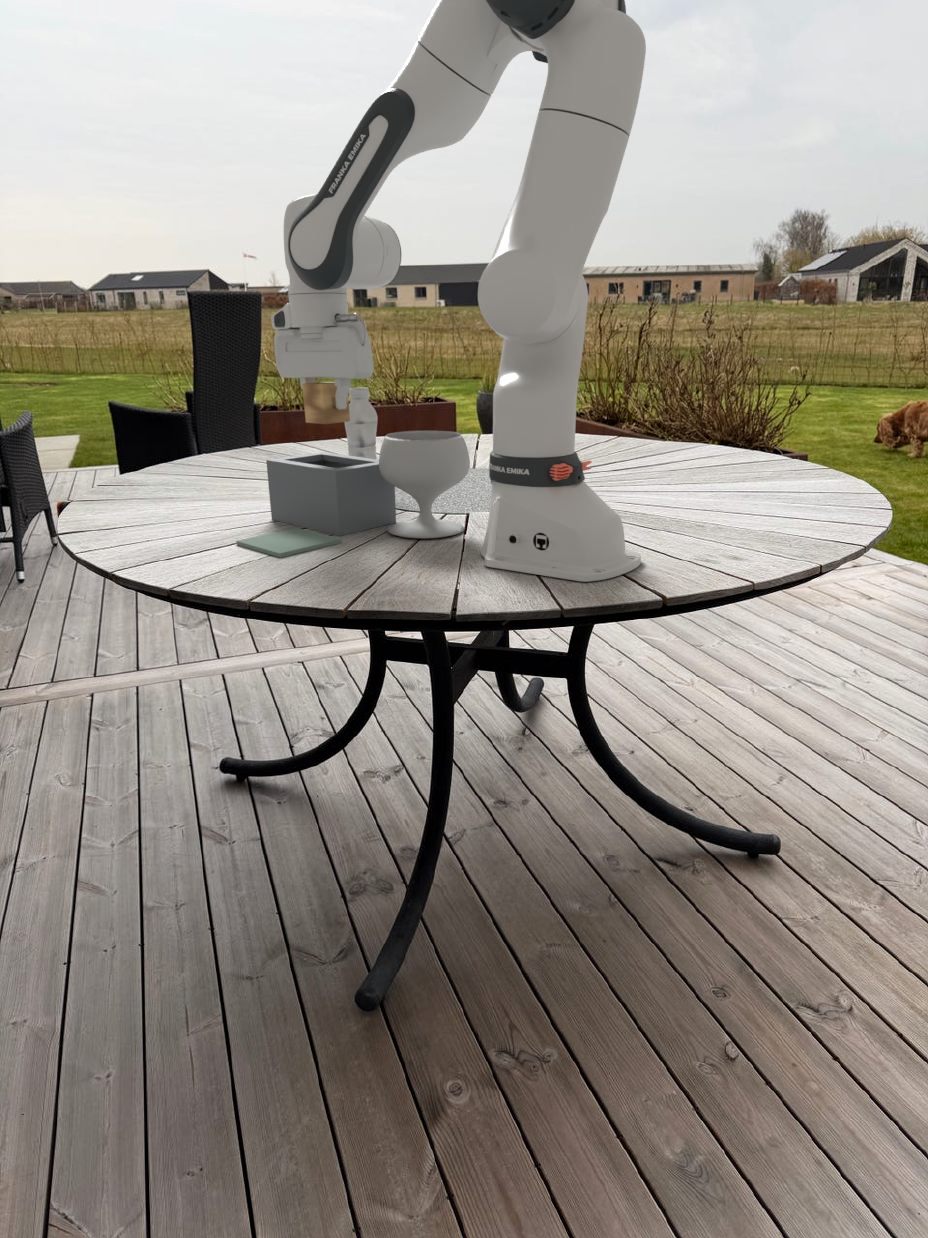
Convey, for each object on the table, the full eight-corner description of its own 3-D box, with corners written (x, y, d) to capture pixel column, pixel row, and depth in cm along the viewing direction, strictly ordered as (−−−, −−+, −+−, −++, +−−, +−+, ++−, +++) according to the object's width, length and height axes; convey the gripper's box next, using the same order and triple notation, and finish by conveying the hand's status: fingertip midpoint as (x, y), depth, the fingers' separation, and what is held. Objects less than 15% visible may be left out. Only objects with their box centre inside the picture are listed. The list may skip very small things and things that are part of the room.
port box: (396, 522, 130) (393, 461, 127) (339, 535, 122) (335, 471, 118) (327, 508, 142) (323, 451, 138) (271, 519, 133) (266, 459, 130)
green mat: (341, 542, 118) (341, 538, 118) (280, 557, 110) (279, 553, 110) (297, 531, 125) (296, 527, 125) (236, 544, 117) (236, 540, 117)
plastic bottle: (340, 495, 152) (333, 388, 146) (360, 489, 158) (355, 386, 151) (368, 498, 150) (362, 389, 143) (387, 492, 155) (383, 387, 148)
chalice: (452, 518, 133) (450, 427, 128) (483, 537, 121) (483, 437, 116) (371, 525, 128) (367, 432, 123) (396, 545, 116) (392, 442, 111)
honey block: (350, 421, 126) (347, 382, 124) (325, 424, 123) (322, 384, 121) (330, 419, 129) (327, 381, 127) (305, 422, 126) (302, 383, 124)
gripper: (380, 312, 116) (385, 409, 121) (296, 317, 129) (304, 404, 134) (347, 312, 112) (354, 412, 117) (264, 317, 125) (273, 407, 130)
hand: (326, 408), depth 125 cm, fingers closed on honey block, 5 cm apart
